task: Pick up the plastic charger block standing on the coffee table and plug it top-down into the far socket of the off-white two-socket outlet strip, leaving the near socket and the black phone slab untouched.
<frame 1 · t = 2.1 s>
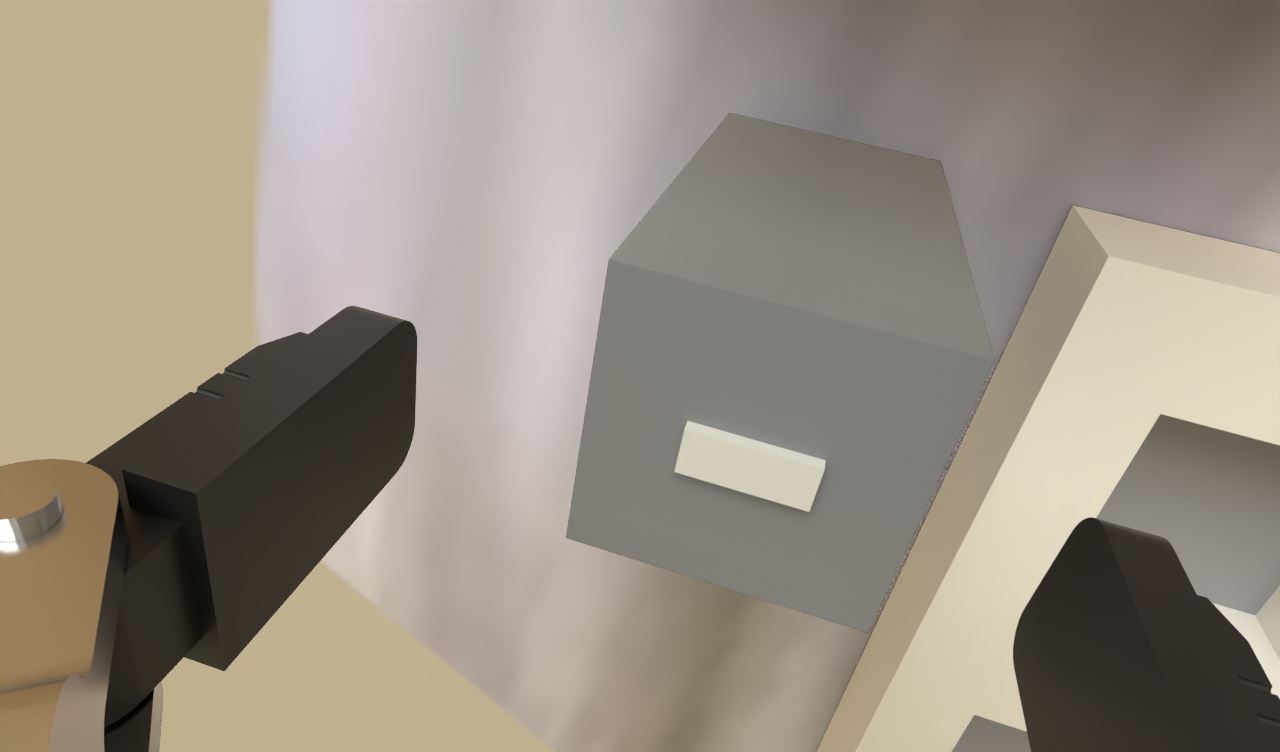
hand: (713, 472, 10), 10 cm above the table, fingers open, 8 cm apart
outlet plate: (1098, 617, 21), on the table
charger block: (804, 236, 18), on the table
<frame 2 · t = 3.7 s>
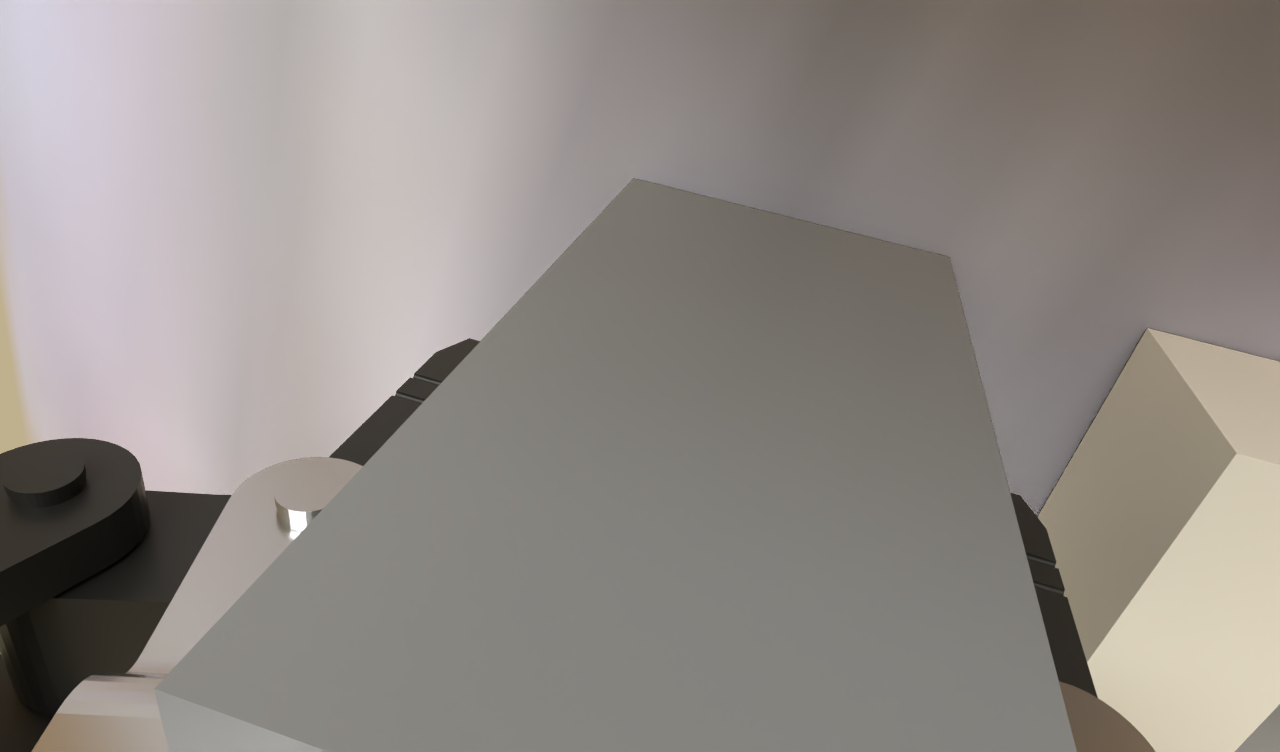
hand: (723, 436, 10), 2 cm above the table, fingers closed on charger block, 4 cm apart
charger block: (748, 354, 12), on the table, touching gripper
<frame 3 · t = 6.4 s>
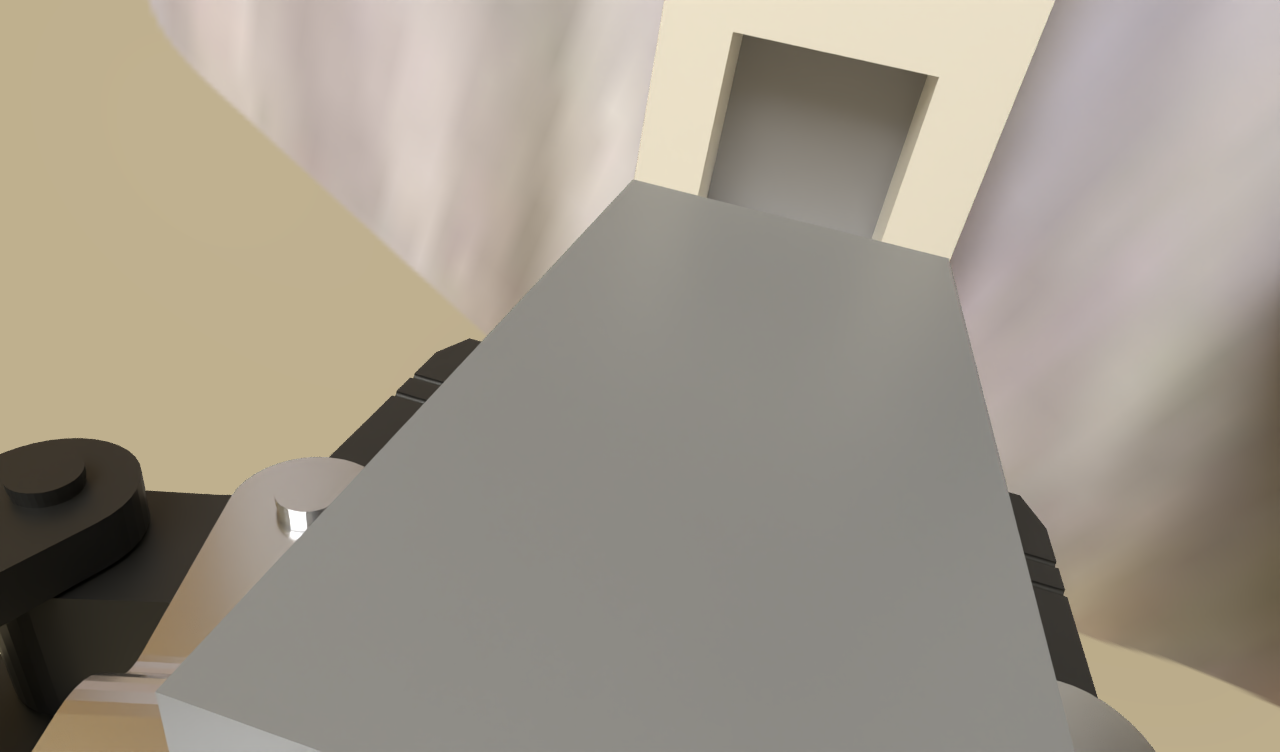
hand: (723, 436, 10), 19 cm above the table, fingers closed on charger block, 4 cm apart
charger block: (748, 355, 12), point 16 cm above the table, touching gripper
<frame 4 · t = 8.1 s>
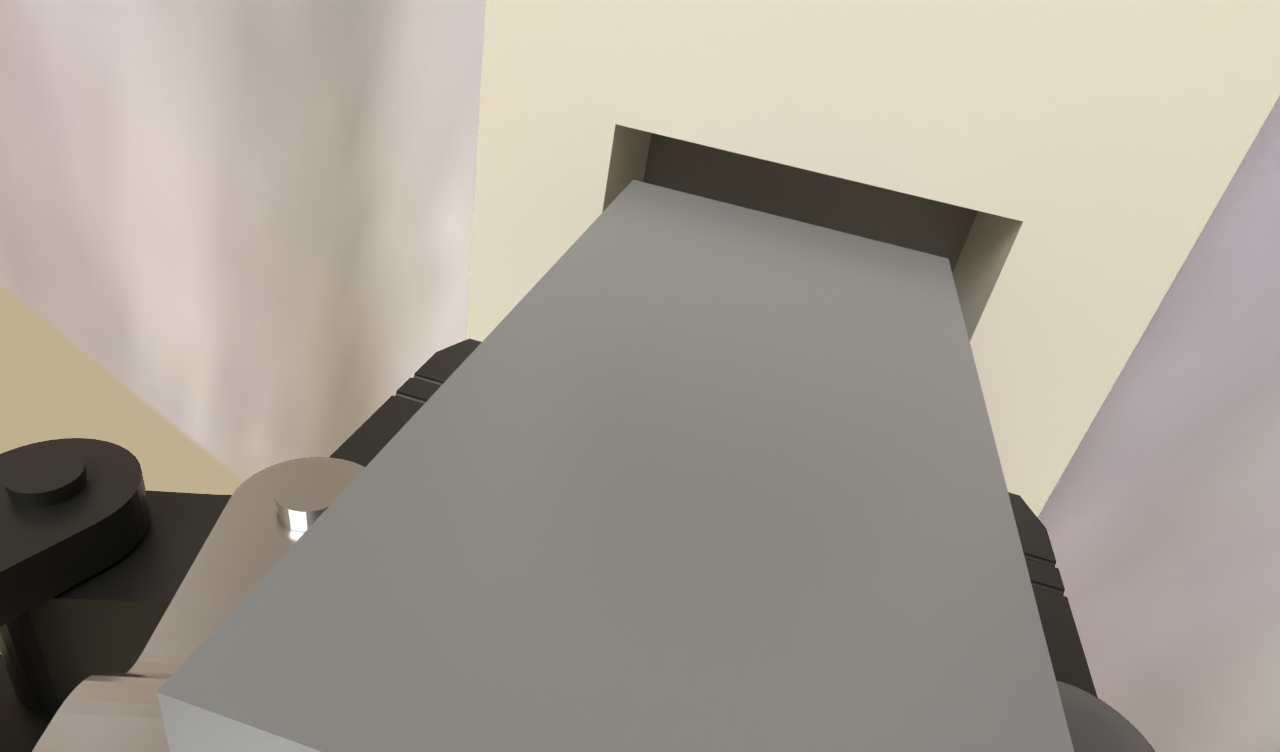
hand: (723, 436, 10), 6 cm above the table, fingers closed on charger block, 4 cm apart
outlet plate: (851, 27, 13), on the table
charger block: (748, 355, 12), point 3 cm above the table, touching gripper
when the fingers open (4 cm above the table, at t = 9.2 s): charger block drops 1 cm, resting on outlet plate.
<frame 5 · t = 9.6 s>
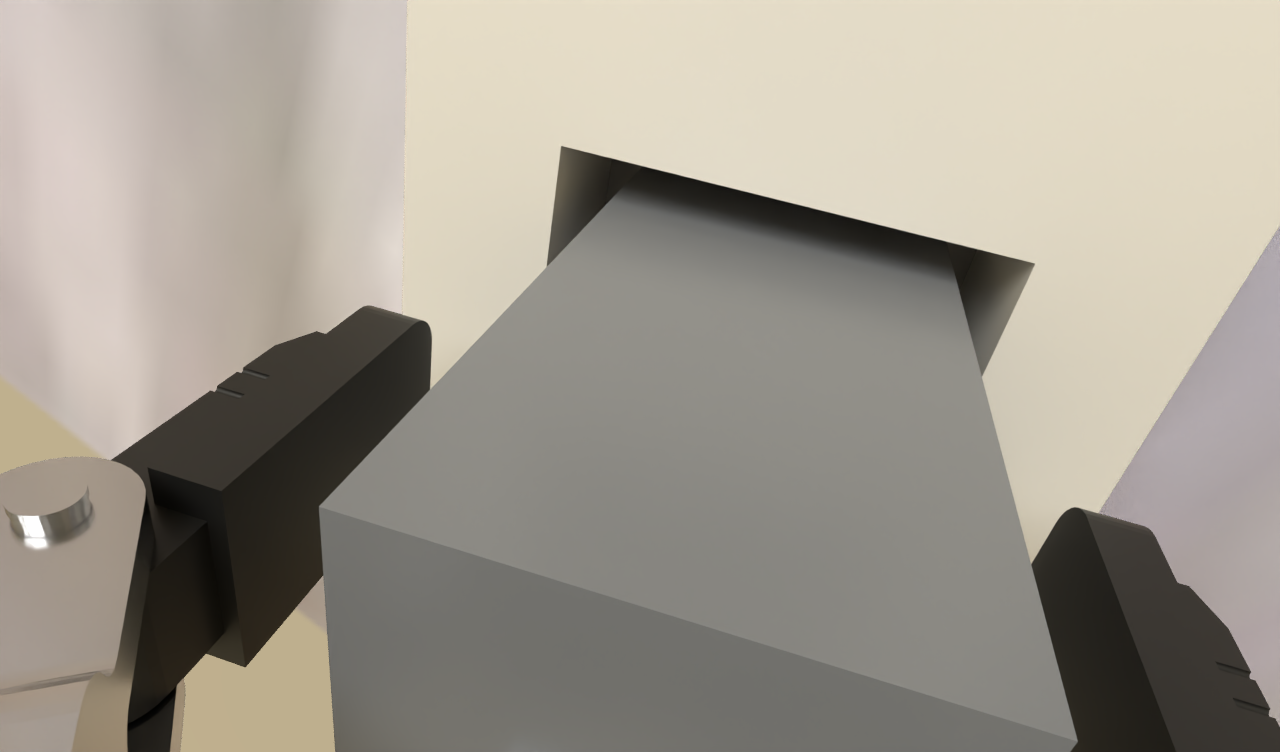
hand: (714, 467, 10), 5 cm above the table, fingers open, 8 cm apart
outlet plate: (837, 33, 11), on the table
charger block: (759, 316, 13), resting on outlet plate
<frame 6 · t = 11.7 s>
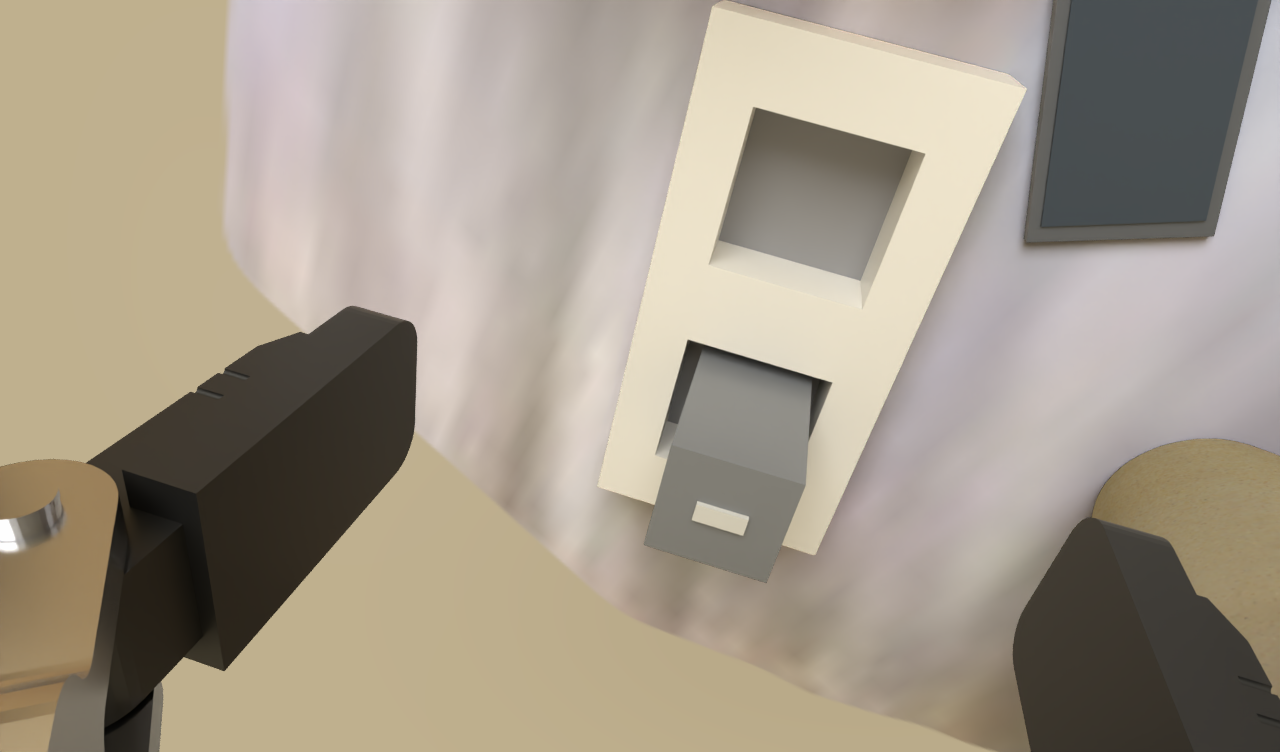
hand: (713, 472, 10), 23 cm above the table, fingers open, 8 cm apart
outlet plate: (777, 294, 32), on the table
plant pot: (1188, 504, 33), on the table
charger block: (746, 386, 34), resting on outlet plate
phone slab: (1137, 71, 26), on the table
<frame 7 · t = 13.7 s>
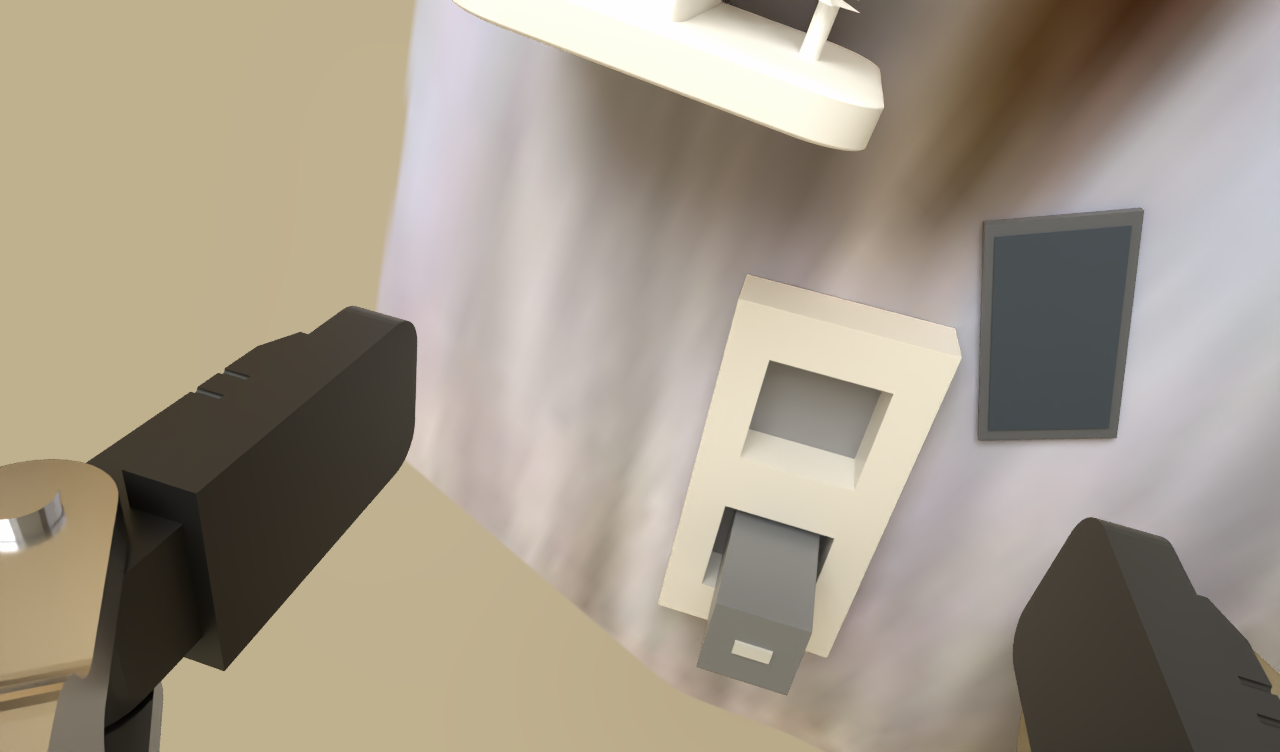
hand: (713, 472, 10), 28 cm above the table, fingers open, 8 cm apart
outlet plate: (792, 465, 43), on the table
plant pot: (1117, 620, 43), on the table
charger block: (771, 528, 45), resting on outlet plate
phone slab: (1049, 326, 36), on the table
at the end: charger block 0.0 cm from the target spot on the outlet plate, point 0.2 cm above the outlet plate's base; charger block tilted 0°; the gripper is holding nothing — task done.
